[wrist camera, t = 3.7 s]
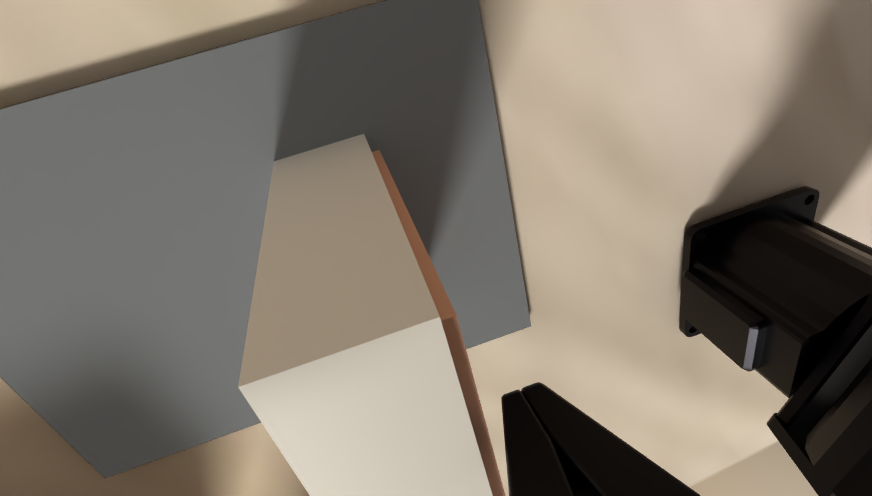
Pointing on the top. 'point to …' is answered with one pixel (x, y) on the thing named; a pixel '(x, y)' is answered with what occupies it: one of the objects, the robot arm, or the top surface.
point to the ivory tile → (359, 339)
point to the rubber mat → (229, 213)
